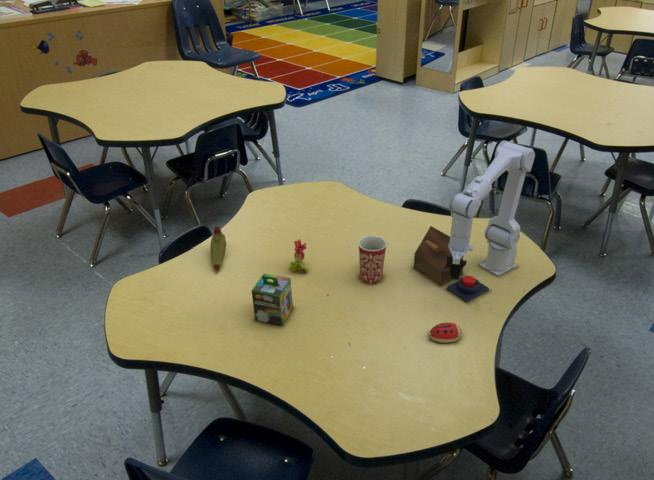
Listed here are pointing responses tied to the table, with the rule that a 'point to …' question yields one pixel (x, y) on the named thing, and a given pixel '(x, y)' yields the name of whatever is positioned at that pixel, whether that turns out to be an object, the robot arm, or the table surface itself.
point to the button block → (467, 290)
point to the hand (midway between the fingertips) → (455, 271)
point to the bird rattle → (298, 257)
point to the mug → (371, 258)
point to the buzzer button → (468, 281)
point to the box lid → (434, 248)
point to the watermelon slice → (446, 332)
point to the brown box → (433, 271)
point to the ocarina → (217, 248)
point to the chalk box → (272, 299)
